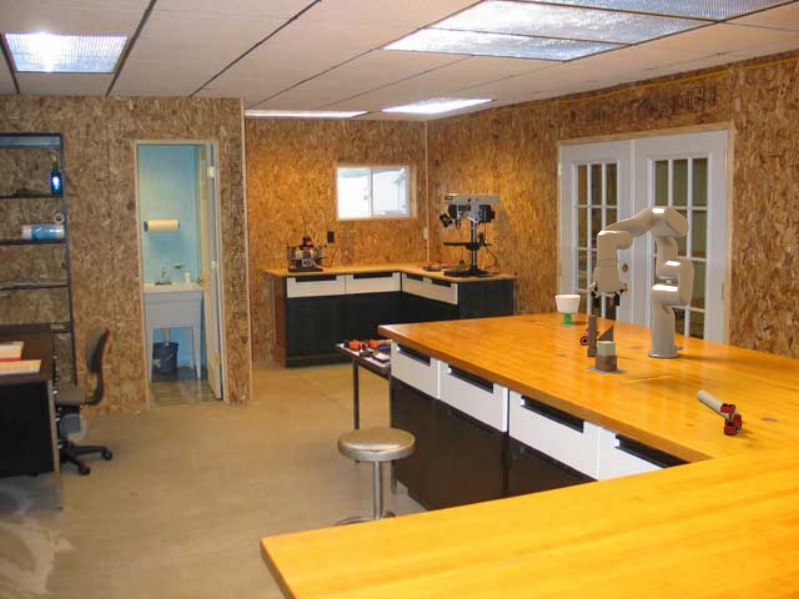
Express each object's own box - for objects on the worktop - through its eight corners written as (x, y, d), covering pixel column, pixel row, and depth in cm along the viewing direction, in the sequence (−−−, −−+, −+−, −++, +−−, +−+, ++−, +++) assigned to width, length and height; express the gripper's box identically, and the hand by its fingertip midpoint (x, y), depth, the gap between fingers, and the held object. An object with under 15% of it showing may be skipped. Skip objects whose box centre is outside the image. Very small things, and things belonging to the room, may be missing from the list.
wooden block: (612, 357, 359) (612, 316, 357) (587, 356, 363) (587, 315, 361) (613, 356, 363) (613, 315, 360) (588, 355, 367) (588, 314, 365)
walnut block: (607, 367, 336) (607, 352, 335) (616, 370, 330) (617, 355, 329) (595, 368, 333) (595, 354, 333) (604, 371, 328) (604, 356, 327)
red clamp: (742, 427, 248) (743, 396, 246) (731, 439, 236) (732, 406, 235) (730, 426, 250) (731, 395, 248) (719, 437, 238) (720, 404, 237)
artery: (590, 346, 390) (590, 335, 390) (579, 346, 392) (579, 335, 391) (598, 332, 430) (598, 322, 429) (588, 332, 431) (588, 322, 431)
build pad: (609, 367, 339) (609, 365, 339) (627, 372, 328) (627, 370, 328) (584, 370, 335) (584, 368, 335) (602, 375, 324) (602, 373, 324)
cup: (555, 326, 450) (555, 297, 448) (554, 322, 463) (554, 294, 461) (581, 326, 447) (581, 297, 445) (579, 322, 461) (580, 294, 459)
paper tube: (730, 424, 253) (731, 412, 253) (696, 400, 283) (696, 389, 282) (742, 423, 253) (743, 412, 253) (707, 400, 283) (707, 389, 282)
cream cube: (607, 353, 334) (607, 340, 334) (615, 355, 330) (615, 342, 329) (597, 354, 332) (597, 341, 332) (605, 356, 328) (605, 343, 327)
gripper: (618, 261, 333) (618, 304, 335) (582, 264, 327) (582, 307, 329) (630, 262, 326) (630, 306, 329) (594, 265, 320) (594, 309, 322)
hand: (606, 306), depth 329 cm, fingers open, 9 cm apart
